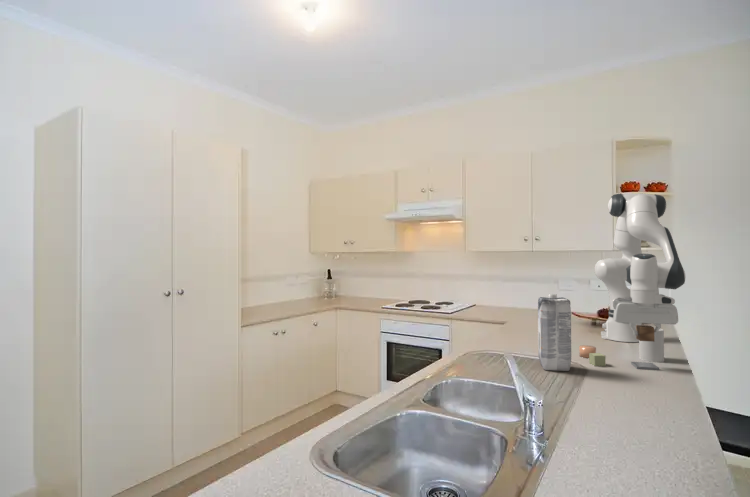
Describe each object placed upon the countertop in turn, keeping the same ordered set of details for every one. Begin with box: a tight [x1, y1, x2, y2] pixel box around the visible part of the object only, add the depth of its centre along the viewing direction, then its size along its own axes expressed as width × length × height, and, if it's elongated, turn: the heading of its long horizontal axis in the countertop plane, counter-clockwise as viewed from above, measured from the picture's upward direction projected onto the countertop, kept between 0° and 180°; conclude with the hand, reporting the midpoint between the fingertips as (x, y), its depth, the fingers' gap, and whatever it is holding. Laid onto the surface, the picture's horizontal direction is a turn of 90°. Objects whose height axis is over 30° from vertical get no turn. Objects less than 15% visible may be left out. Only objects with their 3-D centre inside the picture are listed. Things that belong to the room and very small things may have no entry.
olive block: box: [588, 352, 606, 367], centre depth 157 cm, size 4×4×4 cm
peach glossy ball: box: [578, 344, 597, 359], centre depth 169 cm, size 6×6×4 cm
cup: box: [638, 327, 665, 363], centre depth 164 cm, size 8×8×12 cm
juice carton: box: [537, 293, 572, 372], centre depth 153 cm, size 9×10×27 cm
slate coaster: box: [630, 361, 660, 371], centre depth 154 cm, size 7×7×1 cm
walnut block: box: [636, 324, 655, 342], centre depth 154 cm, size 4×4×5 cm
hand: (645, 335), depth 154 cm, fingers closed on walnut block, 4 cm apart
